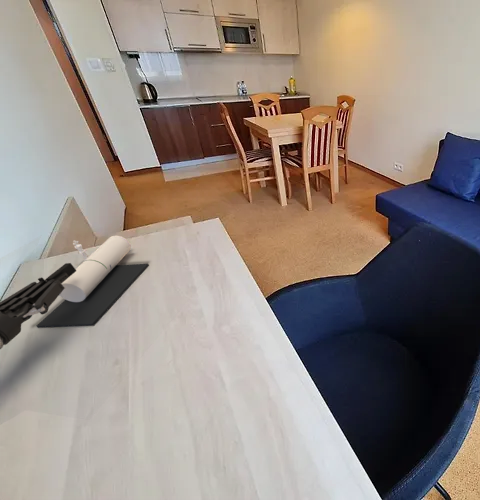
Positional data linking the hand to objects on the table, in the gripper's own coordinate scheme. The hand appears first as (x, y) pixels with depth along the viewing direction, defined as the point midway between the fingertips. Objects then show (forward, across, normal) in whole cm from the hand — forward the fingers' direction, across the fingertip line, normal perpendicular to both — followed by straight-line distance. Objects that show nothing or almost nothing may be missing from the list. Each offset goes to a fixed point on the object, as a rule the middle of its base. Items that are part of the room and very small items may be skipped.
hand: (71, 267), depth 83 cm
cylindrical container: (-3, -3, -7) cm, 8 cm away
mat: (+2, 0, -12) cm, 12 cm away
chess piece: (+17, -14, -12) cm, 25 cm away
